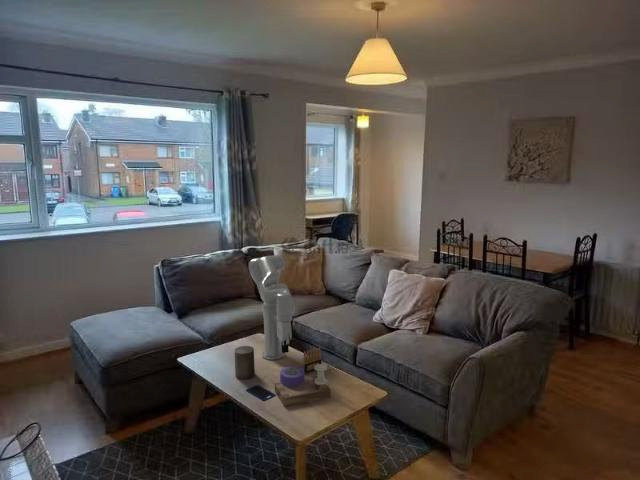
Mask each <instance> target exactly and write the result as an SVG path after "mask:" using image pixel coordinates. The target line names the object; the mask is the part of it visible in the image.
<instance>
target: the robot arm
mask: <svg viewBox="0 0 640 480" xmlns="http://www.w3.org/2000/svg"><path fill="white" fill-rule="evenodd" d="M285 267H286V261H285V258H284V256H282V255H281V254H278V255H277V254H276V255H266V256H262V257H255V258H253V259H252V258H251V260H250V261H249V262H248V271H249V274H250V276H251V278H252V279H253V281H254V283H255V285H256V286H257V290H258V293H259V295H260V299H261V300H262V302H263V303H262V306H261V311H262V316H263V327H264V328H263V331H264V333H263V335H264V337H263V339H264V350H263V351H262V353H261V357H262V358H264V359H265V360H270V361H274V360H275V361H276V360H280V359H283V358H284V357H285V355H286V353H289V351H290V349H289V345H290V341H291V340H292V335H293V334H292V323H291V322H292V320H293V314H294V312H295V310H296V308H295V303H294V300H293V297H292V294H291V293H290V289H289V287H288V285H286V284H285V283H277V282H279V279H280V277H281V275H280V273H279V271H282V270H284V269H285Z"/></svg>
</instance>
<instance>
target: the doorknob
mask: <svg viewBox="0 0 640 480" xmlns="http://www.w3.org/2000/svg"><path fill="white" fill-rule="evenodd" d="M314 369H315V370H316V371H317V372H316V373H317V374H316V376H317V378H316V379H315V380H314V382H315V384H317V385H325V384H326V385H328V384H327V383H328V379H327V378H325V371H327V370H328V365H327V364H324V363H321V364H317V365H315V367H314Z"/></svg>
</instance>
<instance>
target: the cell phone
mask: <svg viewBox="0 0 640 480" xmlns="http://www.w3.org/2000/svg"><path fill="white" fill-rule="evenodd" d="M245 392H247V393H248V394H251V396H254V397H255V398H257V399H259V400H260V401H262V402H265V401H268V400H270V399H272V398H274V397H276V396H277V394H276V393H275V392H274V393H273V392H272V391H270V390H268V389H267V388H264V387H262V385H259V384H256V385H253V386H251V387H248V388H246V389H245Z"/></svg>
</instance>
